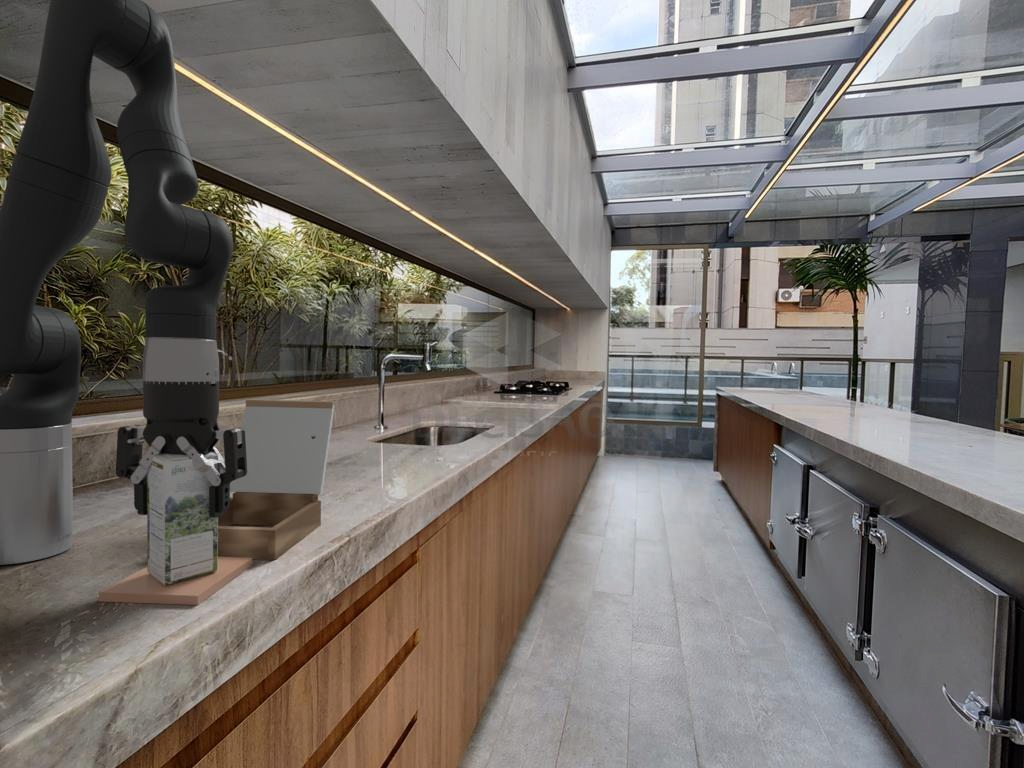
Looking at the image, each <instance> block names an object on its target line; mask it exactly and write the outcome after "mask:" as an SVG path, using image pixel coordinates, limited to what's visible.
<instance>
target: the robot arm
mask: <svg viewBox="0 0 1024 768" xmlns="http://www.w3.org/2000/svg"><path fill="white" fill-rule="evenodd" d="M43 36H44V37H43V41H42V48H41V54H40V61H39V67H38V71H37V72H38V73H37V75H36V81H35V85H34V90H33V93H32V97H31V101H30V105H29V107H28V108H29V109H28V113H27V116H26V119H25V122H24V126H23V128H22V131H21V135H20V138H19V140H18V144H17V146H16V148H15V153H14V154H13V155H14V156H13V159H12V162H11V167H10V170H9V173H8V177H7V181H6V186H5V191H4V194H3V199H2V202H1V205H0V375H12V382H11V385H10V386H9V388H8V389H7V390H5V392H4V393H2V394H0V565H1V566H3V565H6V566H7V565H15V564H23V563H28V562H33V561H37V560H38V561H39V560H42V559H46V558H50V557H53V556H55V555H58V554H61V553H64V552H66V551H68V550H69V549H71V548H72V547H73V544H74V534H73V533H74V529H73V528H74V525H73V524H74V520H73V519H74V508H73V507H74V503H73V502H74V500H73V499H74V496H73V492H74V491H73V490H74V489H73V486H74V485H73V484H74V483H73V425H72V421H73V420H72V419H73V418H72V417H73V411H74V409H75V408H76V405H77V403H78V402H79V401H78V400H79V397H80V396H79V395H80V384H81V383H80V381H81V364H82V340H81V335H80V331H79V327H78V326H77V324H76V322H75V320H74V319H73V318H72V317H71V316H70V315H69V314H68V313H66V312H65V311H63V310H61V309H58V308H54V307H49V306H44V305H43V306H42V305H36V302H37V298H38V297H39V293H40V291H41V288H42V285H43V283H44V281H45V279H46V278H47V276H48V274H49V272H50V270H52V269H53V268H54V266H55V265H56V264H57V263H58V262H59V261H60V260H61V259H62V258H63V257H64V256H65V255H67V254H68V253H69V252H70V251H72V249H74V248H75V247H76V246H77V245H78V244H79V243H81V241H83V240H84V239H85V237H87V236H88V235H89V234H90V233H91V231H92V230H94V228H95V227H96V226H97V224H98V222H99V220H100V218H101V215H102V213H103V209H104V206H105V204H106V203H105V202H106V199H107V195H108V193H109V188H110V185H111V180H112V165H111V160H110V156H109V153H108V150H107V146H106V142H105V141H104V136H103V135H102V132H101V129H100V127H99V124H98V121H97V117H96V114H95V111H94V108H93V102H92V98H91V89H90V87H91V85H90V84H91V83H90V82H91V73H92V65H93V64H92V63H93V59H94V57H95V58H97V60H100V61H101V62H103V63H105V64H106V65H108V66H110V67H112V68H113V69H114V70H117V71H119V72H121V73H123V74H125V75H126V76H127V78H128V79H129V80H130V82H131V85H132V88H133V90H134V92H135V96H134V97H133V98H132V99H131V100H130V102H128V103H127V105H126V106H125V107H124V108H123V110H122V111H121V113H120V116H119V118H118V119H117V126H116V127H117V128H116V138H117V139H116V140H117V144H118V148H119V151H120V155H121V158H122V162H123V165H124V168H125V173H126V176H127V182H128V183H127V189H128V190H127V191H128V193H127V207H126V214H125V220H124V221H125V222H124V236H125V241H126V243H127V244H128V246H129V248H130V249H131V250H132V251H133V252H134V253H135V254H136V255H137V256H138V257H139V258H140V259H143V260H144V261H147V262H149V263H153V264H154V263H155V264H159V265H166V266H172V267H178V268H184V269H188V274H187V276H186V278H185V281H184V282H183V283H182V284H179V285H164V286H157V287H153V288H151V289H149V290H148V292H147V293H146V294H145V295H146V296H145V301H144V310H145V311H144V312H145V313H144V314H145V315H144V316H145V317H144V319H145V320H144V329H145V332H144V335H145V338H144V339H145V340H144V347H143V348H144V349H143V355H142V415H143V418H145V419H146V424H145V427H144V426H142V425H141V424H133V425H128V426H127V425H126V426H121V427H119V428H118V429H117V436H116V437H117V438H116V441H117V442H116V456H115V457H116V458H115V459H116V460H115V475H116V477H117V478H120V479H122V478H125V479H128V480H130V482H131V483H133V497H134V498H133V506H134V508H135V510H136V511H137V514H138V515H140V516H147V475H148V472H149V469H150V467H151V464H152V462H153V457H155V456H154V455H159V454H179V455H187V456H188V457H189V459H192V463H193V464H194V465H195V467H196V468H197V470H198V471H200V472H203V473H204V474H205V476H206V477H207V478H208V480H209V481H210V483H211V484H212V485H213V486H210V487H209V516H210V517H219V516H221V515H223V514H225V512H226V510H228V508H229V506H230V498H231V492H230V483H231V482H232V481H234V480H236V479H238V478H241V477H244V476H246V474H247V458H246V441H245V430H244V429H243V428H242V426H240V427H234V428H229V429H220V427H219V425H218V417H219V414H220V358H219V352H218V351H219V349H218V345H217V344H218V343H217V319H218V318H217V308H218V304H219V303H218V302H219V299H220V295H221V292H222V289H223V284H224V281H225V279H226V274H227V273H228V269H229V266H230V263H231V261H232V258H233V257H232V256H233V252H234V239H233V235H232V231H231V229H230V227H229V226H228V223H227V222H226V221H225V220H224V219H223V218H222V217H221V216H219V215H217V214H215V213H212V212H210V211H206V210H202V209H198V208H193V207H190V206H187V205H185V204H187V203H189V202H191V201H192V200H194V199H195V197H197V194H198V192H199V188H200V187H199V177H198V176H197V172H196V169H195V165H194V163H193V160H192V157H191V153H190V150H189V147H188V144H187V141H186V138H185V134H184V130H183V127H182V126H183V125H182V121H181V117H180V107H179V98H178V85H177V76H176V66H175V65H176V64H175V57H174V56H175V55H174V49H173V43H172V38H171V35H170V31H169V28H168V26H167V24H166V22H165V21H164V19H163V18H162V17H161V15H159V14H158V13H157V12H156V10H154V9H153V8H152V7H151V6H149V5H148V4H147V3H145V2H144V1H143V0H50V2H49V8H48V13H47V17H46V22H45V28H44V35H43ZM145 442H146V444H147V445H148V447H149V448H148V450H147V451H146V452H145V454H144V455H143V447H144V446H143V444H144V443H145ZM218 442H219V444H220V446H221V447H222V448H223V450H224V451H223V453H224V457H223V456H222V454H221V453H220V451H219V450H218V449H217V448H216V445H217V443H218ZM210 452H213V453H215V454H216V455H218V460H216V459H214V458H213V459H210V460H208V459H206V458H205V457H204V456H203V455H206V454H209V453H210ZM216 464H218V471H217V470H216V468H215V467H214V465H216Z"/></svg>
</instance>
